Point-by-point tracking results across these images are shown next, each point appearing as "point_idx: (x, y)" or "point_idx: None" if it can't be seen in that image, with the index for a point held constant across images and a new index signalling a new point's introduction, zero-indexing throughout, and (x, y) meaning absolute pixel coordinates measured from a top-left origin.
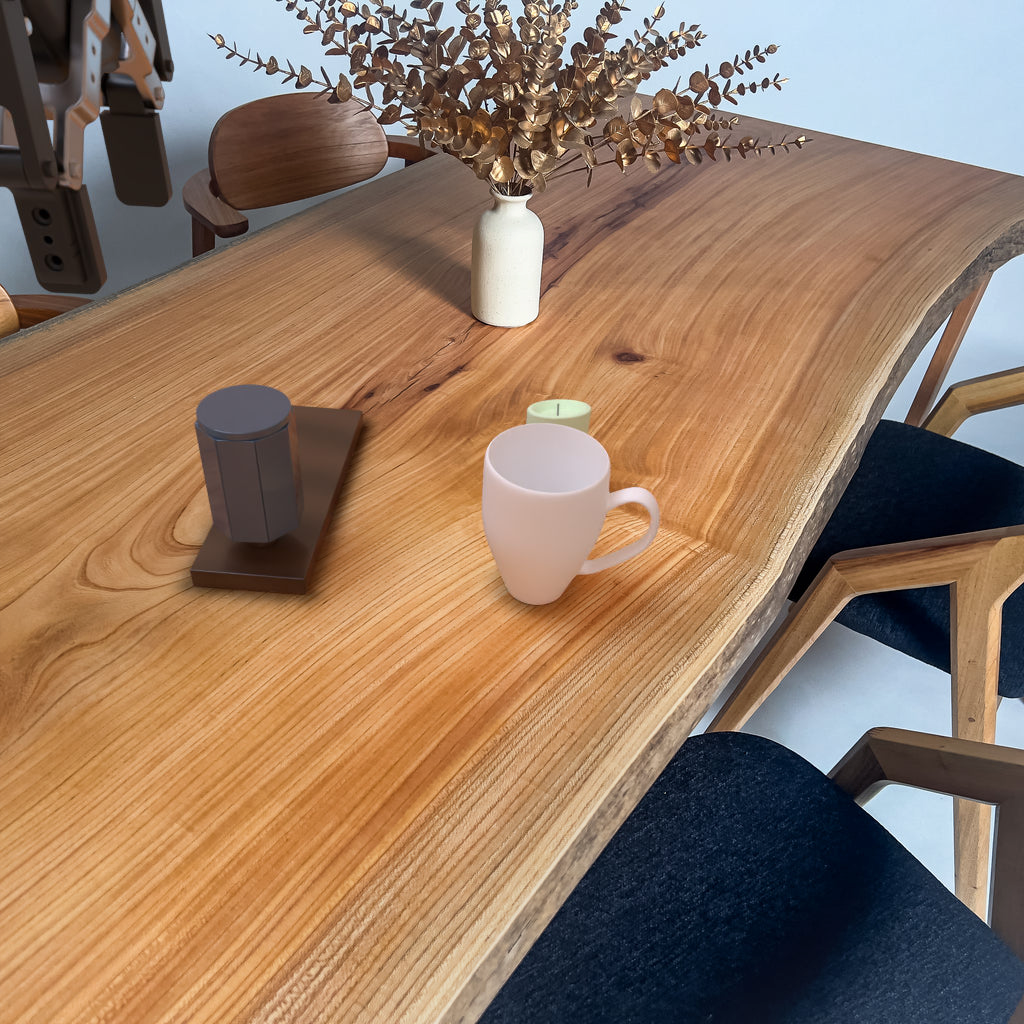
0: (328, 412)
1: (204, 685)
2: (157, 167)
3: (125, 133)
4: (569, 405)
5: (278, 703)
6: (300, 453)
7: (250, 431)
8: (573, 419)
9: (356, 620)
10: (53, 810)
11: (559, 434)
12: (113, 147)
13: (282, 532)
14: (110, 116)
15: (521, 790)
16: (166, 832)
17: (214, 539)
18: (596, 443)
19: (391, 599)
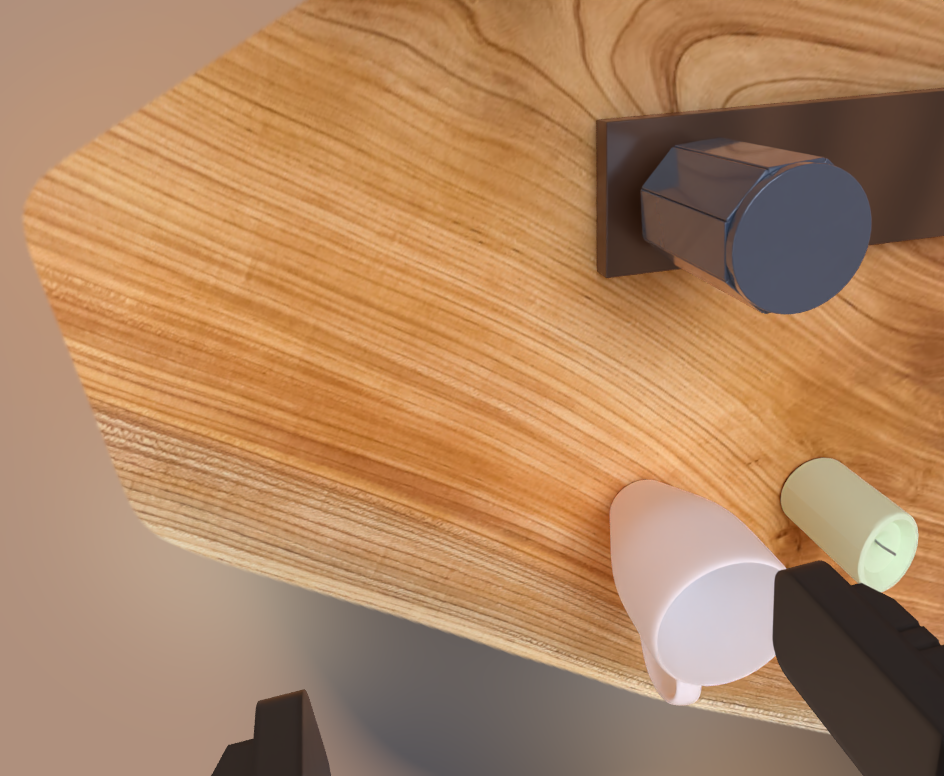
0: None
1: (435, 208)
2: (832, 721)
3: (895, 743)
4: (903, 554)
5: (426, 301)
6: (863, 179)
7: (738, 279)
8: (857, 580)
9: (563, 342)
10: (227, 116)
11: None
12: (867, 680)
13: (660, 252)
14: (934, 756)
15: (372, 551)
16: (237, 254)
17: (670, 130)
18: (761, 662)
19: (601, 369)
